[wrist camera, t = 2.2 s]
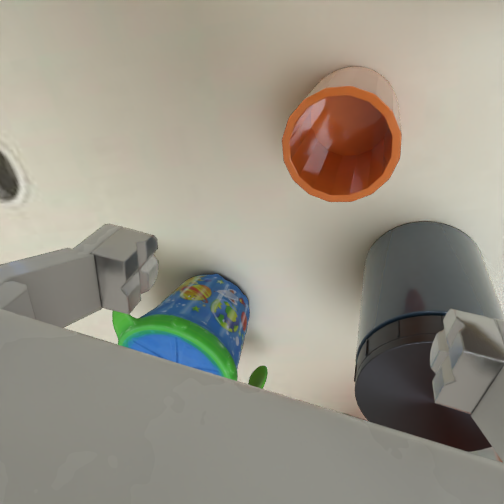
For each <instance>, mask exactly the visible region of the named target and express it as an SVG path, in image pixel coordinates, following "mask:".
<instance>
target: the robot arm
mask: <svg viewBox="0 0 504 504" xmlns="http://www.w3.org/2000/svg"><path fill="white" fill-rule="evenodd" d="M157 249H158V243H157V238H156V237H155V236H154V235H151V234H147V233H144V232H140V231H136V230H133V229H129V228H125V227H121V226H117V225H113V224H104V225H103V226H102V227H100V228H99V229H98V230H97V231H95V232H94V233H93V234H91V235H90V236H89V237H87V238H86V239H85V240H84V241H82V242H81V243H80V244H78V245H77V246H76V247H74V248H73V249H71V248H65V249H61V250H57V251H53V252H49V253H45V254H41V255H37V256H33V257H29V258H25V259H21V260H17V261H13V262H9V263H5V264H1V265H0V504H504V320H501V319H496V318H489V317H485V316H481V315H476V314H472V313H468V312H464V311H459V310H455V309H450V310H449V311H448V312H447V314H446V316H445V317H444V319H443V323H444V330H442V331H440V332H438V333H437V334H436V336H435V338H434V341H433V343H432V347H431V352H430V367H431V369H432V370H433V371H434V373H435V374H436V375H435V377H434V379H433V381H432V384H433V392H434V400H435V403H437V404H440V405H443V406H446V407H449V408H452V409H456V410H459V411H462V412H465V413H468V414H471V417H472V418H473V420H474V421H475V423H476V424H477V426H478V427H479V428H480V430H481V431H482V433H483V434H484V436H485V437H486V438H487V440H488V441H489V443H490V444H491V446H492V447H493V448H494V450H495V451H496V453H497V454H498V456H499V457H500V459H501V460H502V461H503V462H500V461H497V460H493V459H490V458H487V457H484V456H480V455H477V454H474V453H470V452H467V451H464V450H460V449H457V448H454V447H450V446H447V445H444V444H441V443H437V442H434V441H431V440H428V439H424V438H421V437H418V436H415V435H411V434H408V433H405V432H402V431H398V430H395V429H392V428H388V427H385V426H382V425H379V424H375V423H372V422H369V421H366V420H362V419H359V418H356V417H353V416H349V415H346V414H343V413H340V412H336V411H333V410H330V409H327V408H323V407H320V406H317V405H314V404H310V403H307V402H304V401H301V400H297V399H294V398H291V397H288V396H284V395H281V394H278V393H274V392H271V391H268V390H265V389H261V388H258V387H255V386H251V385H248V384H245V383H242V382H238V381H235V380H232V379H228V378H225V377H222V376H219V375H215V374H212V373H209V372H205V371H202V370H199V369H196V368H192V367H189V366H186V365H182V364H179V363H176V362H173V361H169V360H166V359H163V358H160V357H156V356H153V355H150V354H147V353H143V352H140V351H137V350H134V349H130V348H127V347H124V346H120V345H117V344H114V343H111V342H107V341H104V340H101V339H98V338H94V337H91V336H88V335H85V334H81V333H78V332H75V331H72V330H68V329H65V328H64V327H66V326H68V325H70V324H72V323H74V322H76V321H78V320H80V319H82V318H84V317H86V316H88V315H90V314H92V313H94V312H96V311H99V310H101V309H102V308H106V309H109V310H113V311H117V312H121V313H125V314H130V313H131V311H132V310H133V309H134V308H135V307H136V306H137V304H138V303H139V302H140V301H141V294H142V293H144V292H147V291H149V290H150V289H151V287H152V286H153V285H154V283H155V280H156V278H157V276H158V269H159V262H158V260H157V258H156V257H155V255H154V254H153V253H154V252H155V251H156V250H157Z"/></svg>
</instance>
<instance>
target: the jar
mask: <svg viewBox="0 0 504 504" xmlns="http://www.w3.org/2000/svg"><path fill="white" fill-rule="evenodd" d="M450 309H455V310H459V311H464V312H468V313H472V314H476V315H481V316H485V317H489V318H496V319H501V320H504V314H503V311H502V308H501V305H500V303H499V300H498V297H497V295H496V292H495V289H494V286H493V284H492V281H491V278H490V276H489V273H488V270H487V267H486V265H485V262H484V259H483V256H482V254H481V252H480V250H479V248H478V246H477V245H476V243H475V242H474V241H473V240H472V239H471V238H470V237H469V236H467V235H466V234H465V233H463V232H462V231H460V230H458V229H456V228H454V227H452V226H449V225H446V224H442V223H437V222H414V223H409V224H405V225H401V226H399V227H396V228H394V229H392V230H390V231H388V232H387V233H385V234H384V235H382V236H381V237H380V238H379V239H378V240H377V241H376V242H375V243H374V244H373V246H372V247H371V249H370V250H369V252H368V254H367V257H366V261H365V267H364V278H363V288H362V299H361V310H360V320H359V331H358V341H357V352H356V365H357V361H358V356H359V353H360V350H361V348H362V346H363V345H364V343H365V342H366V339H368V338H370V337H371V336H372V335H373V334H374V333H375V332H377V331H378V330H379V329H381V328H383V327H384V326H386V325H388V324H391V323H393V322H396V321H397V320H402V319H406V318H410V317H417V316H429V315H433V316H446V314H447V312H448V311H449V310H450Z"/></svg>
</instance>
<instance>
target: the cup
mask: <svg viewBox="0 0 504 504" xmlns="http://www.w3.org/2000/svg"><path fill="white" fill-rule="evenodd" d="M401 137H402V134H401V123H400V112H399V103H398V101H397V97H396V94H395V92H394V90H393V87H392V86H391V85H390V83H389V82H388V81H387V80H386V79H385V78H384V77H383V76H382V75H381V74H379V73H377V72H376V71H374V70H371V69H369V68H365V67H358V66H355V67H345V68H342V69H339V70H336V71H334V72H332V73H331V74H329V75H327V76H326V77H324V78H323V79H322V80H321V81H320V82H319V83H318V84H317V85H316V86H315V88H314V89H313V90H312V91H311V92H310V93H309V94H308V95H307V97H306V98H305V99H304V100H303V101H302V102H301V104H300V105H299V106H298V107H297V108H296V110H295V111H294V112H293V113H292V114H291V116H290V117H289V119H288V122H287V125H286V128H285V131H284V134H283V138H282V147H283V159H284V163H285V165H286V167H287V169H288V171H289V173H290V175H291V177H292V179H293V180H294V181H295V182H296V183H297V184H298V185H299V186H300V187H302V188H303V189H304V190H305V191H306V192H307V193H308V194H310V195H312V196H315V197H318V198H320V199H323V200H326V201H329V202H351V201H354V200H357V199H360V198H363V197H365V196H368V195H371V194H372V193H374V192H375V191H376V190H377V189H378V188H380V187H381V186H382V185H383V184H384V183H385V182H386V181H388V180H389V178H390V177H391V175H392V173H393V171H394V169H395V167H396V165H397V163H398V161H399V159H400V152H401Z"/></svg>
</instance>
